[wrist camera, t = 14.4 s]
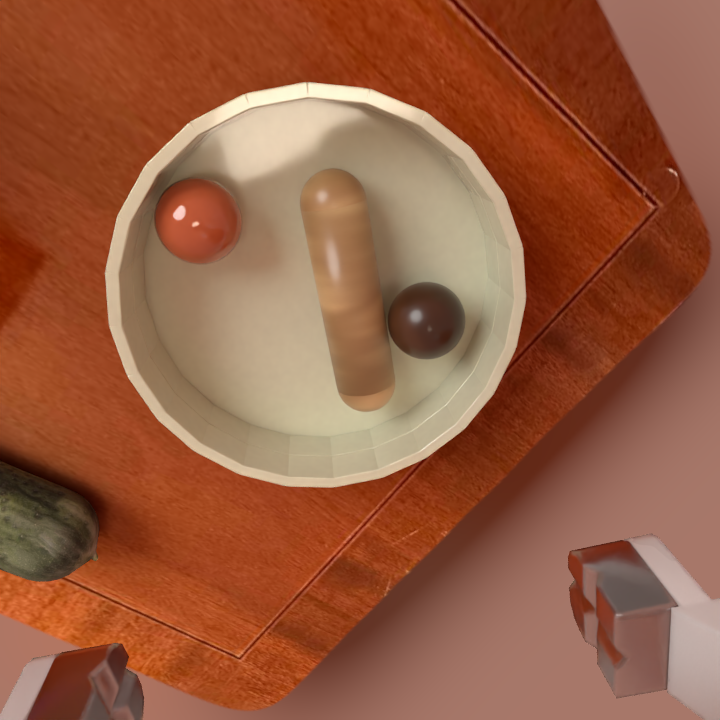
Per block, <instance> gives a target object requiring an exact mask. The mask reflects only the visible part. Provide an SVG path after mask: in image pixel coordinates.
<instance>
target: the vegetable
mask: <svg viewBox="0 0 720 720" xmlns="http://www.w3.org/2000/svg"><path fill="white" fill-rule="evenodd" d="M98 535H99V521H98V517H97V514H96V512H95V510H94V508H93V507H92V505H91V504H90V503H89V502H88V501H87V500H86V499H85V498H84V497H83V496H81V495H79V494H78V493H76V492H74V491H72V490H69V489H67V488H64V487H62V486H60V485H57V484H55V483H53V482H50V481H48V480H45V479H43V478H40V477H38V476H35V475H33V474H30V473H28V472H26V471H23V470H21V469H18V468H16V467H14V466H11V465H9V464H7V463H4V462H2V461H0V570H3V571H6V572H8V573H11V574H14V575H17V576H19V577H22V578H25V579H28V580H32V581H39V582H40V581H52V580H57V579H60V578H63V577H65V576H67V575H69V574H71V573H72V572H73V571H75V570H76V569H78V568H79V567H80V566H82V565H83V564H85V563H86V562H88V561H89V560H90V559H92V560H94V561H96V560H97V559H98V555H97V552H96V548H97V542H98Z"/></svg>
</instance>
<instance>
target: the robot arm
mask: <svg viewBox="0 0 720 720" xmlns="http://www.w3.org/2000/svg"><path fill="white" fill-rule="evenodd" d="M568 568H569V570H570V572H571V573H572V575H573V577H574V579H575V580H574V581H573V583H572V584H571V585H570V587H569V591H570V602H571V606H572V610H573V614H574V618H575V620H576V623H577V625H578V627H579V630H580V632H581V634H582V636H583V638H584V640H585V642H587V643H588V644H590V645H592V646H593V647H595V648H596V649H597V661H598V662H597V664H598V666H599V667H600V669H601V671H602V673H603V675H604V677H605V678H606V680H607V682H608V684H609V686H610V687H611V689H612V691H613V693H614V695H615V696H616V698H622V697H627V696H632V695H638V694H644V693H650V692H655V691H662V690H667V692H668V693H669V694H670V695H672V696H673V697H674V698H675V699H677V700H678V701H680V702H681V703H682V704H684V705H685V706H686V707H688V708H689V709H690V710H692V711H693V712H694V713H696V714H697V715H698V716H700V717H701V718H702V719H704V720H720V598H719V599H714V600H712V599H711V598H710V597H709V596H708V595H707V594H706V592H705V591H704V590H703V589H702V588H701V587H700V585H699V584H698V583H697V582H696V581H695V580H694V578H692V576H691V575H690V574H689V573H688V571H687V570H686V569H685V568H684V567H683V566H682V565H681V563H680V562H679V561H678V560H677V559H676V557H675V556H674V555H673V554H672V553H671V552H670V551H669V549H668V548H667V547H666V546H665V545H664V544H663V542H662V541H661V540H660V539H659V538H658V537H657V536H655V535H653V534H647V535H643V536H638V537H633V538H628V539H625V540H620V541H615V542H610V543H606V544H601V545H596V546H592V547H587V548H582V549H577V550H572V551H570V553H569V556H568ZM128 658H129V656H128V654H127V653H126V651H125V649H124V647H123V645H122V644H119V643H113V644H107V645H101V646H96V647H90V648H84V649H79V650H73V651H67V652H62V653H60V654H54V655H48V656H42V657H36V658H33V659H32V660H31V661H30V662H28V663H27V664H26V665H25V667H24V669H23V671H22V673H21V675H20V677H19V679H18V681H17V682H16V684H15V686H14V688H13V691H12V692H11V694H10V696H9V698H8V700H7V702H6V704H5V706H4V708H3V710H2V712H1V714H0V720H142V719H143V706H144V696H143V691H142V686H141V683H140V681H139V679H138V676H137V675H136V674H135V673H133V672H131V671H129V670H128V669H126V665H127V661H128Z"/></svg>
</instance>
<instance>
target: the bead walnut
mask: <svg viewBox="0 0 720 720" xmlns="http://www.w3.org/2000/svg"><path fill="white" fill-rule="evenodd" d="M465 323H466V319H465V311H464V308H463V305H462V303H461V301H460V300H459V298H458V297H457V296H456V294H455V293H454V292H452V291H451V290H450V289H449V288H447V287H445V286H443V285H441V284H438V283H434V282H420V283H416V284H413V285H410V286H408V287H407V288H405V289H404V290H402V291H401V292H400V293H399V294H398V295H397V296H396V298H395V299H394V300H393V302H392V304H391V306H390V309H389V313H388V329H389V333H390V336H391V338H392V340H393V342H394V343H395V344H396V346H397V347H398V348H399V349H400V350H401V351H403V352H404V353H405V354H407V355H409V356H411V357H414V358H417V359H426V360H427V359H435V358H439V357H441V356H443V355H445V354H447V353H449V352H450V351H451V350H452V349H453V348H455V347H456V345H457V344H458V343H459V341H460V339H461V338H462V335H463V333H464V329H465Z"/></svg>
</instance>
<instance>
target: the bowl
mask: <svg viewBox="0 0 720 720" xmlns="http://www.w3.org/2000/svg"><path fill="white" fill-rule="evenodd" d="M332 168H334V169H341V170H344V171H347V172H349V173H350V174H352V175H353V176H354V177H355V178H357V179H358V181H359V182H360V183H361V185H362V186H363V188H364V191H365V194H366V198H367V204H368V211H369V217H370V223H371V229H372V236H373V242H374V248H375V254H376V261H377V267H378V273H379V280H380V286H381V292H382V298H383V305H384V311H385V317H386V323H387V330H388V336H389V342H390V349H391V355H392V361H393V367H394V374H395V390H394V393H393V395H392V397H391V399H390V400H389V402H388V403H387V404H386V405H384V406H383V407H382V408H380V409H378V410H375V411H371V412H360V411H357V410H354V409H352V408H351V407H349V406H348V405H346V404H345V403H344V402H343V400H342V399H341V397H340V395H339V393H338V390H337V386H336V381H335V376H334V371H333V366H332V361H331V356H330V352H329V347H328V342H327V337H326V332H325V327H324V322H323V317H322V312H321V307H320V303H319V298H318V293H317V288H316V283H315V278H314V273H313V268H312V263H311V258H310V254H309V249H308V244H307V239H306V234H305V229H304V224H303V219H302V214H301V208H300V196H301V193H302V189H303V187H304V185H305V183H306V182H307V181H308V180H309V179H310V178H311V177H312V176H313V175H314V174H316V173H318V172H319V171H322V170H325V169H332ZM189 177H203V178H208V179H211V180H213V181H216V182H218V183H219V184H221V185H223V186H224V187H225V188H226V189H227V190H229V192H230V193H231V194H232V195H233V196H234V198H235V199H236V201H237V203H238V205H239V207H240V210H241V213H242V219H243V227H242V233H241V237H240V240H239V242H238V244H237V245H236V247H235V248H234V250H233V251H232V252H231V253H230V254H229V255H228V256H226V257H225V258H223V259H222V260H220V261H218V262H215V263H212V264H206V265H196V264H190V263H187V262H184V261H182V260H179V259H178V258H176V257H174V256H173V255H172V254H171V253H169V252H168V251H167V250H166V248H165V247H164V246H163V245H162V243H161V242H160V240H159V238H158V236H157V233H156V230H155V226H154V211H155V207H156V203H157V201H158V199H159V197H160V196H161V194H162V193H163V191H164V190H165V189H166V188H167V187H169V186H170V185H171V184H173V183H174V182H176V181H178V180H181V179H184V178H189ZM105 270H106V272H105V279H106V293H107V307H108V321H109V326H110V330H111V333H112V336H113V338H114V341H115V344H116V347H117V350H118V352H119V355H120V358H121V361H122V363H123V366H124V369H125V372H126V374H127V376H128V378H129V380H130V381H131V382H132V384H133V385H134V387H135V388H136V390H137V391H138V393H139V394H140V395H141V397H142V398H143V400H144V401H145V403H146V404H147V405H148V407H149V408H150V410H151V411H152V413H153V414H154V415H155V417H156V418H157V420H159V421H160V422H161V423H162V424H163V425H164V426H166V427H167V428H168V429H169V430H170V431H171V432H172V433H174V434H175V435H176V436H177V437H178V438H179V439H181V440H182V441H183V442H184V443H185V444H186V445H188V446H189V447H190V448H191V449H192V450H193V451H195V452H197V453H199V454H200V455H202V456H204V457H206V458H208V459H210V460H212V461H214V462H216V463H218V464H220V465H222V466H224V467H226V468H228V469H230V470H232V471H233V472H235V473H237V474H240V475H244V476H248V477H252V478H256V479H260V480H263V481H267V482H271V483H275V484H279V485H283V486H292V487H332V488H333V487H339V486H344V485H349V484H354V483H359V482H365V481H370V480H375V479H380V478H381V477H382V478H383V477H385V476H387V475H390V474H392V473H394V472H397V471H399V470H401V469H403V468H406V467H408V466H410V465H412V464H415V463H417V462H419V461H421V460H424V459H425V458H427V457H428V456H430V455H431V454H432V453H434V452H435V451H436V450H438V449H439V448H440V447H442V446H443V445H444V444H446V443H447V442H448V441H450V440H451V439H452V438H454V437H455V436H456V435H458V434H459V433H460V432H462V431H463V430H464V429H465V428H466V427H467V426H468V424H469V423H470V422H471V421H472V420H473V418H474V417H475V416H476V415H477V414H478V412H479V411H480V410H481V409H482V408H483V406H484V405H485V404H486V403H487V402H488V400H489V399H490V398H491V397H492V396H493V394H494V392H495V391H496V389H497V387H498V385H499V383H500V381H501V379H502V377H503V375H504V373H505V371H506V369H507V367H508V364H509V362H510V360H511V358H512V356H513V354H514V352H515V350H516V348H517V343H518V338H519V333H520V328H521V323H522V318H523V313H524V308H525V304H526V284H525V268H524V252H523V245H522V242H521V239H520V236H519V233H518V231H517V228H516V225H515V222H514V219H513V216H512V213H511V210H510V208H509V205H508V202H507V199H506V197H505V195H504V193H503V191H502V190H501V188H500V187H499V186H498V184H497V183H496V181H495V180H494V179H493V177H492V176H491V174H490V173H489V171H488V170H487V169H486V167H485V166H484V164H483V163H482V161H481V160H480V159H479V157H478V156H477V154H476V153H475V152H474V150H472V148H471V147H470V146H468V145H467V144H466V143H465V142H463V141H462V140H461V139H460V138H459V137H457V136H456V135H455V134H454V133H452V132H451V131H450V130H449V129H447V128H446V127H445V126H444V125H442V124H441V123H440V122H439V121H437V120H436V119H435V118H434V117H432V116H431V115H430V114H429V113H427V112H425V111H423V110H421V109H418V108H416V107H414V106H411V105H409V104H406V103H404V102H402V101H399V100H397V99H394V98H392V97H389V96H387V95H385V94H382V93H380V92H377V91H375V90H372V89H368V88H362V87H352V86H342V85H333V84H323V83H314V82H308V83H307V82H303V83H298V84H293V85H287V86H282V87H276V88H271V89H266V90H260V91H255V92H250V93H246V94H243V95H241V96H239V97H237V98H235V99H233V100H231V101H229V102H227V103H225V104H223V105H221V106H219V107H218V108H216V109H214V110H212V111H210V112H208V113H206V114H204V115H202V116H200V117H198V118H196V119H194V120H192V121H191V122H190V123H188V124H187V125H186V126H185V127H184V128H183V129H182V130H181V131H180V132H179V133H178V134H177V135H175V136H174V137H173V138H172V139H171V140H170V141H169V142H168V143H167V144H166V145H165V146H164V147H163V148H162V149H161V150H160V151H159V152H158V153H157V154H156V155H155V156H154V157H153V158H152V159H151V160H150V161H149V162H148V163H147V165H145V166H144V168H143V170H142V172H141V174H140V175H139V177H138V179H137V181H136V183H135V184H134V186H133V188H132V190H131V192H130V193H129V195H128V197H127V199H126V201H125V202H124V204H123V206H122V208H121V210H120V212H119V213H118V217H117V219H116V223H115V228H114V233H113V237H112V242H111V246H110V251H109V256H108V260H107V265H106V269H105ZM420 282H434V283H438V284H441V285H443V286H445V287H447V288H449V289H450V290H451V291H452V292H454V293H455V294H456V296H457V297H458V298H459V300H460V301H461V303H462V305H463V308H464V311H465V319H466V323H465V329H464V333H463V335H462V338H461V339H460V341H459V343H458V344H457V345H456V347H455V348H453V349H452V350H451V351H450V352H449V353H447V354H445V355H443V356H441V357H439V358H435V359H427V360H426V359H417V358H414V357H411V356H409V355H407V354H405V353H404V352H403V351H401V350H400V349H399V348H398V347H397V346H396V344H395V343H394V342H393V340H392V338H391V336H390V333H389V329H388V313H389V309H390V306H391V304H392V302H393V300H394V299H395V298H396V296H397V295H398V294H399V293H400V292H401V291H402V290H404V289H405V288H407V287H408V286H410V285H413V284H416V283H420Z"/></svg>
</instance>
